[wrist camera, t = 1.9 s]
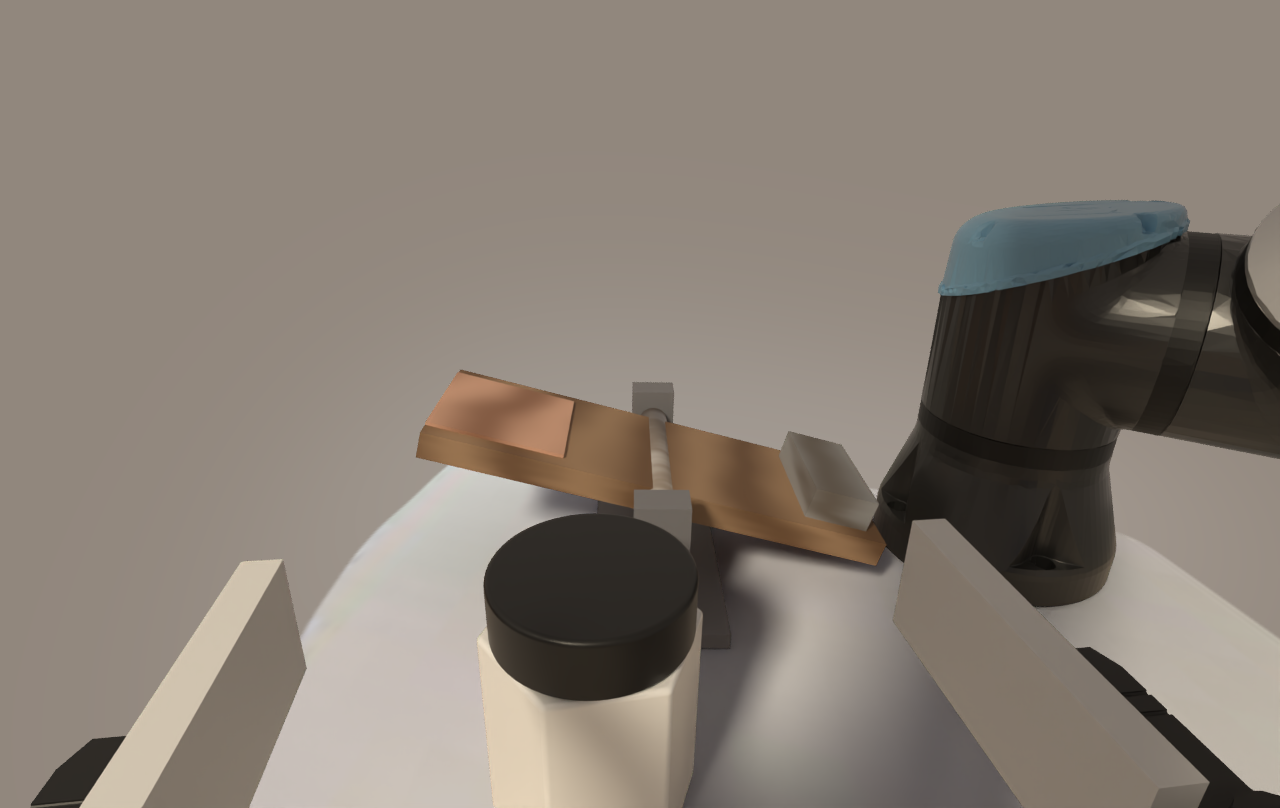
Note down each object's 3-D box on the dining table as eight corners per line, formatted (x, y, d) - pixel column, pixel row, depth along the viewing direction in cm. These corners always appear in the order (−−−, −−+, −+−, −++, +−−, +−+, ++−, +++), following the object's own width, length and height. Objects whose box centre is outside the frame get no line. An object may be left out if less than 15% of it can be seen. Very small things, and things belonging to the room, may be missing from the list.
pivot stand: (699, 485, 56) (705, 381, 53) (729, 648, 39) (741, 511, 36) (600, 485, 56) (599, 381, 52) (588, 648, 39) (585, 510, 36)
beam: (825, 476, 53) (844, 432, 51) (882, 583, 41) (909, 531, 39) (460, 385, 50) (470, 335, 48) (407, 473, 38) (418, 411, 36)
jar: (671, 704, 35) (680, 501, 31) (718, 861, 28) (739, 625, 23) (493, 730, 34) (473, 520, 29) (493, 904, 26) (467, 660, 22)
